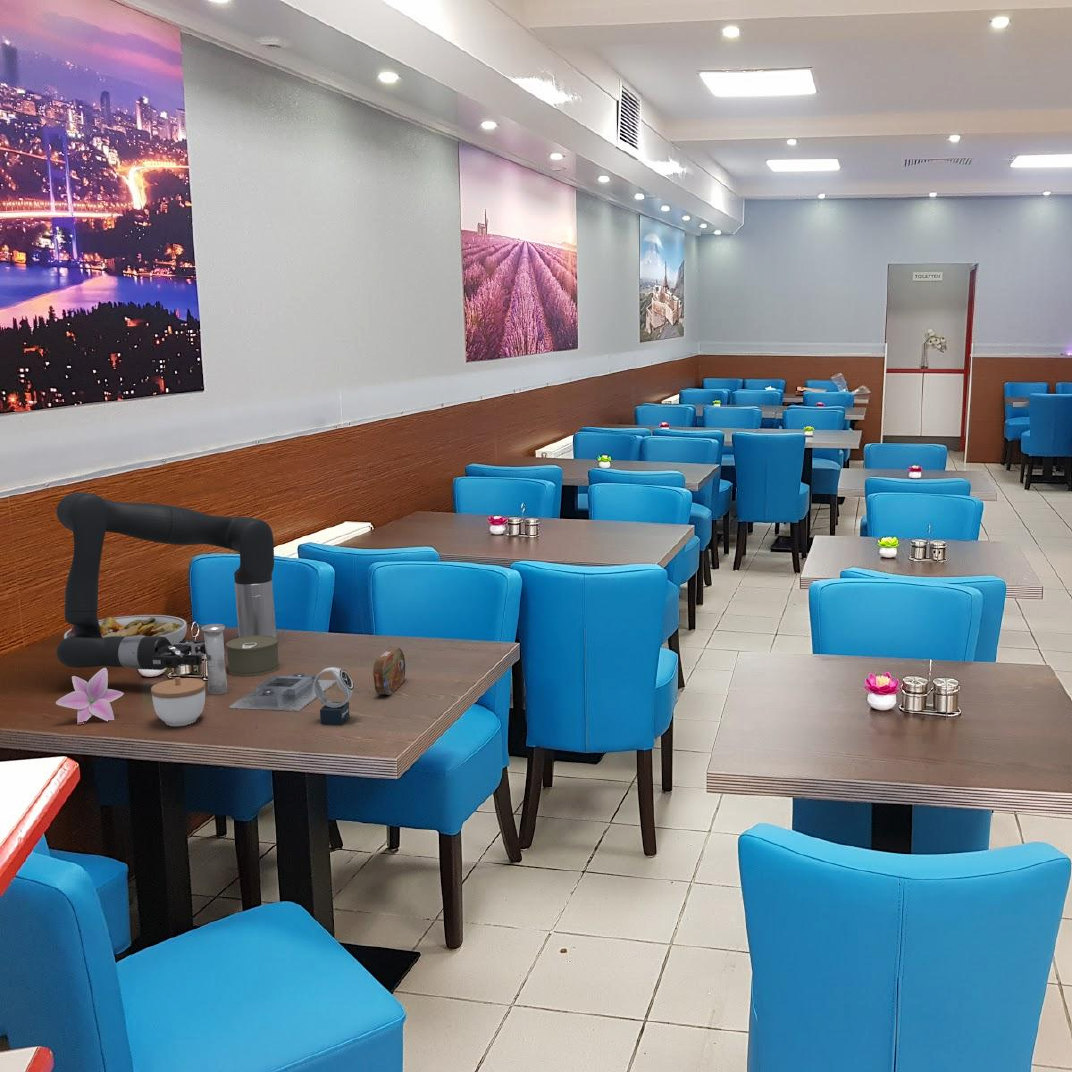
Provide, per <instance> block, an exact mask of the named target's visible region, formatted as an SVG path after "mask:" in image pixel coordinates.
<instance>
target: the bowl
mask: <svg viewBox="0 0 1072 1072" xmlns="http://www.w3.org/2000/svg"><path fill="white" fill-rule="evenodd" d="M98 622H99V625H100V630H101V635H102V638H104V637H110V636H127V637H128V636H163V637H166V638H167V639H168V640H169V642H170V643H171V644H172V645H173V644H174V643H179V642H180V641H181V642H182V641H183V640H184V638H185V637H186V634H187V631H188V625H187V624H188V623H187V621H186V620H185V619H183V618H180V617H178V616H177V617H176V616H173V615H172V616H171V615H164V614H163V615H162V614H138V615H126V616H117V617H111V616H109V617H107V618H104V619H103V618H102V619H98ZM71 636H75V631H74V626H73V627H72V628H70V629H69V630H67V631H66V632H65V633H64V634H63V640H64V639H65V638H68V637H71ZM181 642H180V643H181Z"/></svg>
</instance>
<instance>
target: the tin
mask: <svg viewBox="0 0 1072 1072" xmlns="http://www.w3.org/2000/svg"><path fill="white" fill-rule="evenodd" d="M404 654H405V653H404V652H403V650H402V649H401V648H400V647H397V648H389V649H387V650H386V651H384V652H383V653H382V654H381V655H380V656H379V657H378V658H376V660H375V661H374V663H373V668H372V669H373V670H372V676H373V682H374V683H373V684H374V690H375V692H376V694H378V695H380V696H392V695H393V694H394V693H395V692H396V691H395V690H396V689H397V690H398V689H399V688H400V686H402V685H403V684H404V682H405V677H406V659H405V655H404ZM398 687H399V688H398ZM394 691H395V692H394ZM392 693H393V694H392Z"/></svg>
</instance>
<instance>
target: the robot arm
mask: <svg viewBox="0 0 1072 1072" xmlns="http://www.w3.org/2000/svg"><path fill="white" fill-rule="evenodd" d="M55 512H56V516H57V519H58V521H59V522H60V524H61V525H62V526H63V527H65V528H66V529H67V530H68V531H72V535H73V537H72V538H73V556H72V561H71V566H70V568H69V573H68V576H67V580H66V583H65V589H64V590H65V591H64V620H65V622H66V623H67V624H69V625H71V626H73V627H74V631H75V636H71V637H68V638H65V639H64V638H63V639H62V640H61V641H60V642H59V644H58V645H57V648H56V657H57V659H58V661H59V662H60V663H61V664H62V665H64V666H66V667H69V668H71V669H72V668H73V669H76V668H77V669H80V668H81V669H82V668H97V667H110V668H125V669H127V668H128V669H133V670H148V671H149V670H151V671H152V670H153V671H154V670H156V671H162V670H164V669H178V668H179V667H184V666H200V665H202V664H203V659H202V656H203V655H206V650H205V639H203V640H189V639H188V640H186V639H183V640H182V641H181V642H180V643H174V644H173V645H172V644H171V643H170V642H169V640H168V639H167V638H166V637H163V636H128V637H127V636H110V637H104V638H102V635H101V630H100V625H99V622H98V620H99V619H98V607H99V604H98V602H99V578H100V577H99V576H100V568H101V560H102V554H103V553H102V552H103V547H104V540H105V536H106V533H114V534H118V535H124V536H128V537H130V538H134V539H139V540H142V541H147V542H154V543H159V544H166V545H173V546H174V545H175V546H195V545H209V546H214V547H219V548H223V549H228V550H232V551H235V552H237V553H239V567H238V568H237V569H235V571H234V574H233V576H234V589H235V590H234V591H235V592H234V593H235V604H236V618H237V632H238V638H240V637H246V636H257V635H264V636H272V637H275V638H277V629H276V616H275V614H276V613H275V611H276V610H275V602H274V589H273V572H274V569H275V568H274V567H275V544H274V534H273V530H272V528H271V526H270V525H269V523H267V522H266V521H264V520H262V519H258V518H254V517H251V516H250V517H248V516H222V515H221V516H219V515H212V514H211V515H210V514H207V513H203V512H201V511H197V510H194V509H192V508H186V507H181V506H176V505H171V504H170V505H169V504H168V505H167V504H161V503H159V504H158V503H152V502H151V503H150V502H149V503H147V502H122V501H116V500H115V501H114V500H110V499H106V498H103V497H101V496H99V495H98V494H95V493H92V492H91V493H90V492H83V491H82V492H81V491H78V492H71V493H69V494H67V495H65V496H64V497H63V498H61V500H59V502H58V504H57V506H56V511H55Z"/></svg>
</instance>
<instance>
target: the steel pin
mask: <svg viewBox="0 0 1072 1072" xmlns="http://www.w3.org/2000/svg"><path fill="white" fill-rule="evenodd" d="M200 630H201V632H202V633H203V634H204V635H203V636H204V640H205V650H206V654H205V659H206V672H207V687H208V694H209V695H213V696H215V695H223V694H226V693H227V692H228V684H227V682H228V681H227V668H226V656H225V655H226V654H225V653H226V652H225V643H224V631H225V630H226V626H225V624H223V623H209V624H205V625H203V626H201V629H200Z"/></svg>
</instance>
